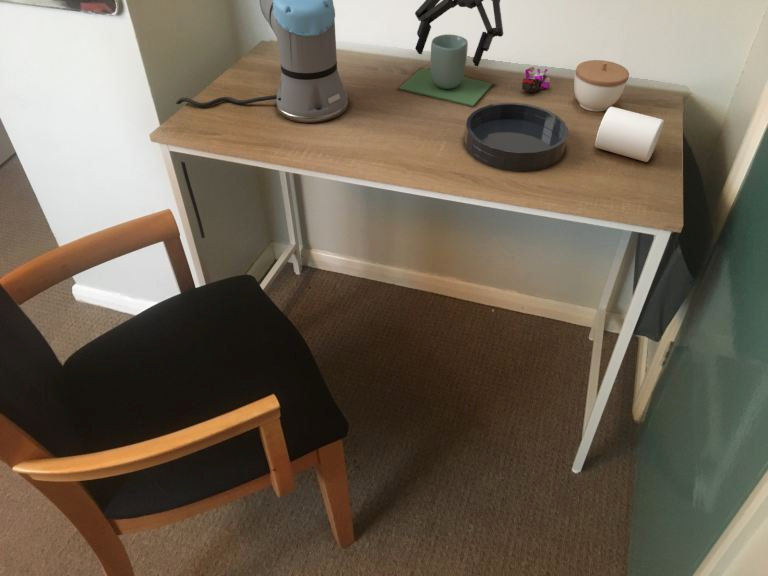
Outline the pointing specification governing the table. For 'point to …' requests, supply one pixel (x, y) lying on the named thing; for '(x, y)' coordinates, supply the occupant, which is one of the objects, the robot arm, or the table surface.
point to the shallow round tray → (515, 136)
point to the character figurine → (534, 80)
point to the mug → (629, 133)
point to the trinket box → (599, 84)
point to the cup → (448, 60)
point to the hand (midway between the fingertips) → (446, 57)
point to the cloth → (462, 94)
